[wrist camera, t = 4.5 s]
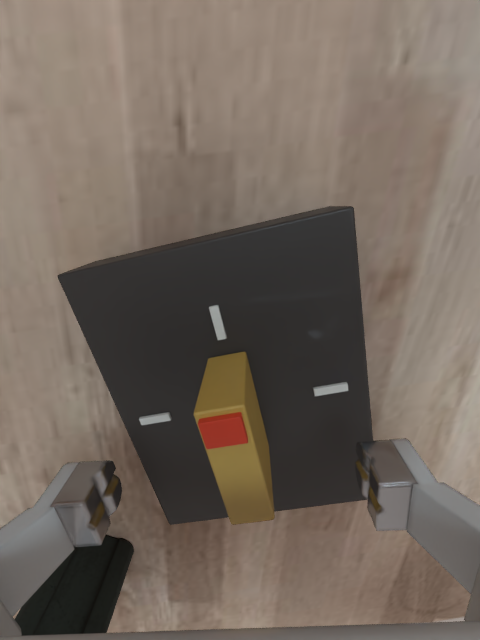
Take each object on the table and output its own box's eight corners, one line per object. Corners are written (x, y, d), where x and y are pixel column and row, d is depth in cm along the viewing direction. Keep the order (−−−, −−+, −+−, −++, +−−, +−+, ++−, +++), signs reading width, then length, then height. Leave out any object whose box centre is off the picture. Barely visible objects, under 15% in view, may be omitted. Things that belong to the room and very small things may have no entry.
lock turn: (269, 445, 14) (275, 527, 10) (235, 450, 14) (230, 533, 10) (245, 350, 12) (244, 410, 8) (207, 357, 12) (190, 419, 9)
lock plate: (357, 452, 17) (379, 502, 15) (181, 477, 19) (168, 528, 16) (331, 205, 13) (355, 205, 10) (94, 261, 14) (53, 276, 11)
